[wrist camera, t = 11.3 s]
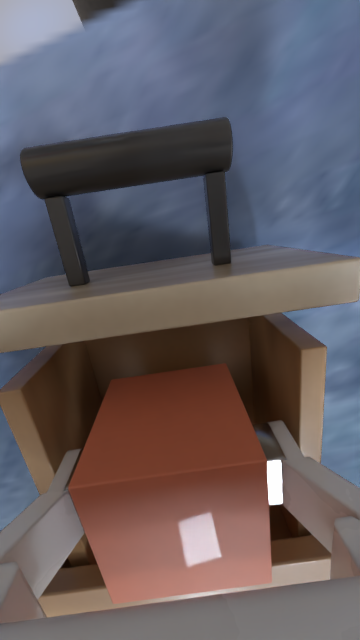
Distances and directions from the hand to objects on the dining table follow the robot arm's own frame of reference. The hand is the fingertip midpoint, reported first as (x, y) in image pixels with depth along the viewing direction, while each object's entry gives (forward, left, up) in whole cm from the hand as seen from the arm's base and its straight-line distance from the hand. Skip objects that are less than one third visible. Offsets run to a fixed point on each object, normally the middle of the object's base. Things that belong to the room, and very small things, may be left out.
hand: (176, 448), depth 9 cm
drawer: (-2, 0, -6) cm, 6 cm away
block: (0, 0, -2) cm, 2 cm away
